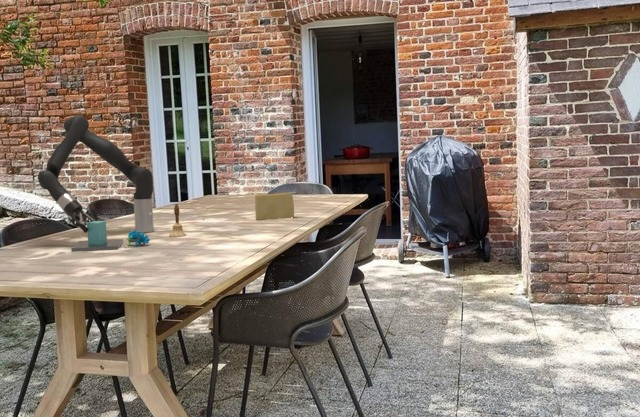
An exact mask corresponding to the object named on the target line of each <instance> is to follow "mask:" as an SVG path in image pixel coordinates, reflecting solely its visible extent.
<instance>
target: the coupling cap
mask: <svg viewBox="0 0 640 417" xmlns="http://www.w3.org/2000/svg"><path fill="white" fill-rule="evenodd" d="M86 227H87V228H88V229H89V230H88V231H87V232H86V233H87V241H88V244H90V245H101V244H104V243H107V240H108V235H107V234H108V233H107V222H106V220H95V221H93V222H91V221H90V222H88V223H86Z"/></svg>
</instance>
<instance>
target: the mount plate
mask: <svg viewBox="0 0 640 417" xmlns="http://www.w3.org/2000/svg"><path fill="white" fill-rule="evenodd" d="M123 243H124V239H123V238H120V239H119V238H118V239H117V238H116V239H107V243H104V244H101V245H90V244H88V240H79V241H78V242H77V243H75V244H74V245H73V246H72V247H71V250H70V251H71V252H93V251H95V252H96V251H111V250H113V251H115V250H119V248H121V246H122V245H123Z"/></svg>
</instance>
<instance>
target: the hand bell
mask: <svg viewBox="0 0 640 417" xmlns="http://www.w3.org/2000/svg"><path fill="white" fill-rule="evenodd" d="M178 204H179V203H175V204H174V208H173V212H174V215H175V216H174V217H175V223H174V224H173V225H172V230H171V232H170V234H169V237H171V238H179V237H181V238H182V237H186V236H187V233H185V232H184V230H183V225H182V224H181V223H180V218H179V217H180V207H179V205H178Z"/></svg>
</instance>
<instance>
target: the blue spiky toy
mask: <svg viewBox="0 0 640 417" xmlns="http://www.w3.org/2000/svg"><path fill="white" fill-rule="evenodd" d="M145 233H146V232H140V231H137V232H135V229H134V230H133V229H132V231H129V232H128V235H127V238H126V239H127V241H128V244H127V247H129V246H130V245H131V243H135V244H134V247H138V244H139V245H141V244H143V245H146V244H149V242H150V240H151V239H150V237H149V235H147V234H145Z"/></svg>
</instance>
